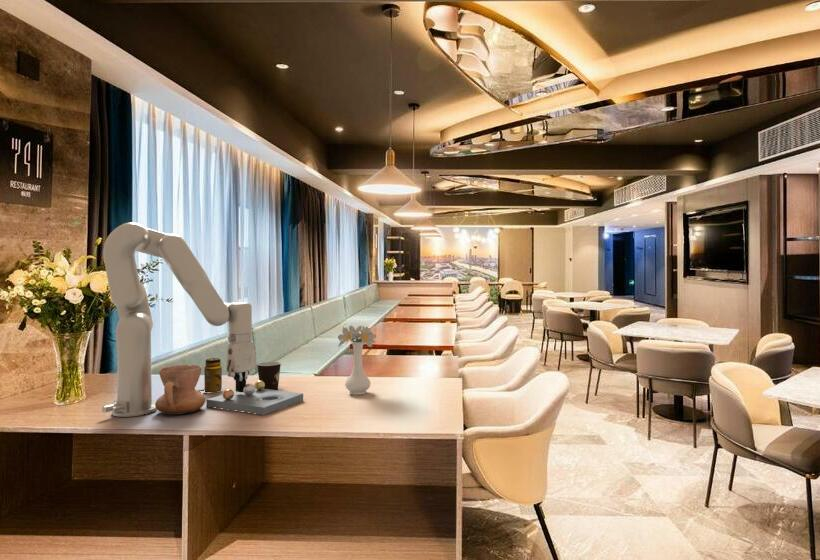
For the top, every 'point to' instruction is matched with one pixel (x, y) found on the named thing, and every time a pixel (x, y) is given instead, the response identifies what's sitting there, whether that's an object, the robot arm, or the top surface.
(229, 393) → the copper ball
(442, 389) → the top surface
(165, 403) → the ceramic jug
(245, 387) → the steel ball
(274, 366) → the coffee mug
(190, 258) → the robot arm
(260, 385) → the brass ball
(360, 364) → the flower vase
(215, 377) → the condiment
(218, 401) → the grey flat board
